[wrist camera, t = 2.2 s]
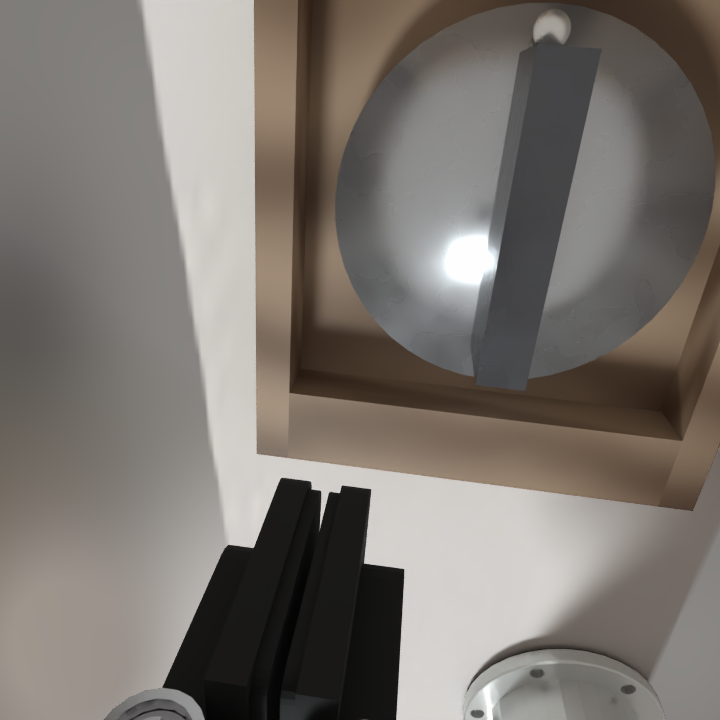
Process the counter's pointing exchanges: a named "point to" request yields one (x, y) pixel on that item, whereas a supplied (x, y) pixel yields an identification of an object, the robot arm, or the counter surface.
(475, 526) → the counter surface
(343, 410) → the dial panel
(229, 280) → the counter surface
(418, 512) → the counter surface
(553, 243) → the dial
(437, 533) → the counter surface
